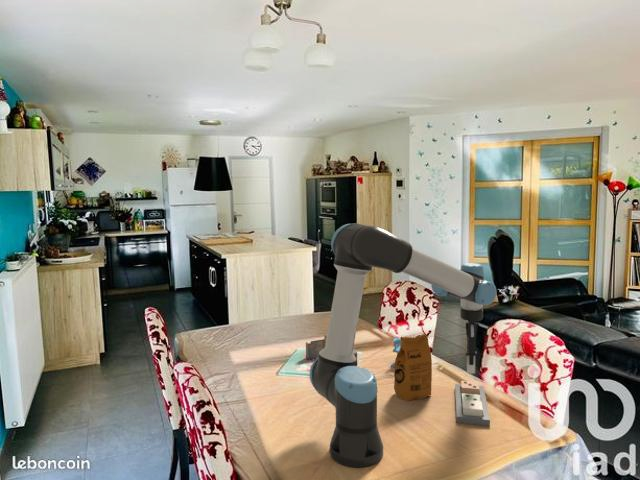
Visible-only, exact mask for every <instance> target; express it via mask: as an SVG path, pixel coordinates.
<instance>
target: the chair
mask: <svg viewBox="0 0 640 480" xmlns="http://www.w3.org/2000/svg"><path fill="white" fill-rule="evenodd" d="M392 341H393V346H394V348H393V349H392V353H396V355H397V354H398V352H399V350H400V347H401V345H402V342H401V338H399V337H394V338H393V340H392ZM394 365H395V362H393V363H390V368H394V369H395V366H394Z"/></svg>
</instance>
